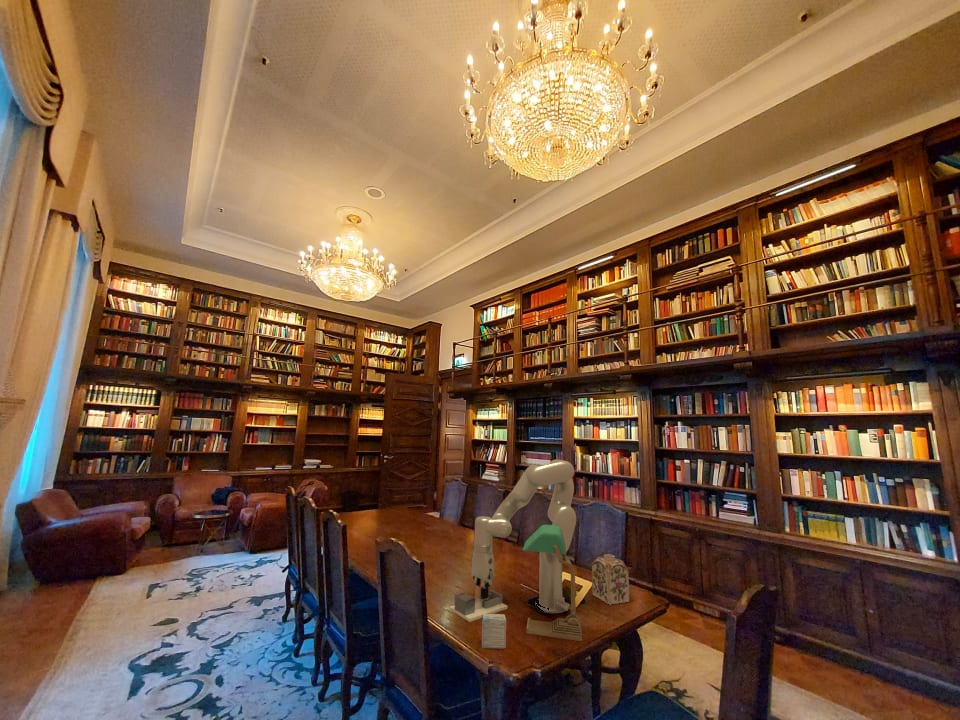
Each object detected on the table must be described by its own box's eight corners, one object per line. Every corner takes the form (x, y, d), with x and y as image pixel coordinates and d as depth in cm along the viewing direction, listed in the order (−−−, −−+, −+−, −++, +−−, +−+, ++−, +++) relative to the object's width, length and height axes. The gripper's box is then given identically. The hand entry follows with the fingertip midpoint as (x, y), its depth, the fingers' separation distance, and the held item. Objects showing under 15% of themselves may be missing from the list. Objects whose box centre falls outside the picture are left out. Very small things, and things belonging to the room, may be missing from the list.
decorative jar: (609, 605, 161) (607, 560, 165) (591, 595, 171) (590, 552, 175) (630, 602, 165) (628, 558, 169) (612, 592, 176) (611, 550, 180)
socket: (474, 612, 147) (475, 598, 148) (465, 615, 144) (465, 601, 145) (463, 606, 152) (464, 592, 153) (454, 609, 149) (455, 595, 150)
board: (507, 608, 154) (507, 597, 155) (469, 621, 141) (470, 609, 142) (486, 598, 163) (486, 587, 164) (449, 609, 151) (449, 597, 152)
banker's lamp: (583, 646, 127) (581, 535, 134) (521, 637, 131) (522, 530, 139) (580, 625, 142) (578, 526, 149) (525, 618, 146) (526, 522, 154)
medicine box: (504, 642, 128) (505, 613, 130) (505, 649, 123) (506, 619, 125) (481, 641, 128) (482, 613, 129) (481, 648, 123) (482, 619, 125)
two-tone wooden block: (488, 605, 154) (488, 585, 155) (467, 612, 147) (468, 591, 148) (482, 602, 156) (483, 582, 158) (461, 608, 149) (462, 588, 151)
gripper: (503, 551, 154) (501, 601, 150) (477, 542, 166) (475, 588, 163) (489, 554, 149) (487, 606, 145) (464, 545, 162) (461, 592, 158)
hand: (481, 596), depth 154 cm, fingers closed on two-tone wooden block, 3 cm apart
